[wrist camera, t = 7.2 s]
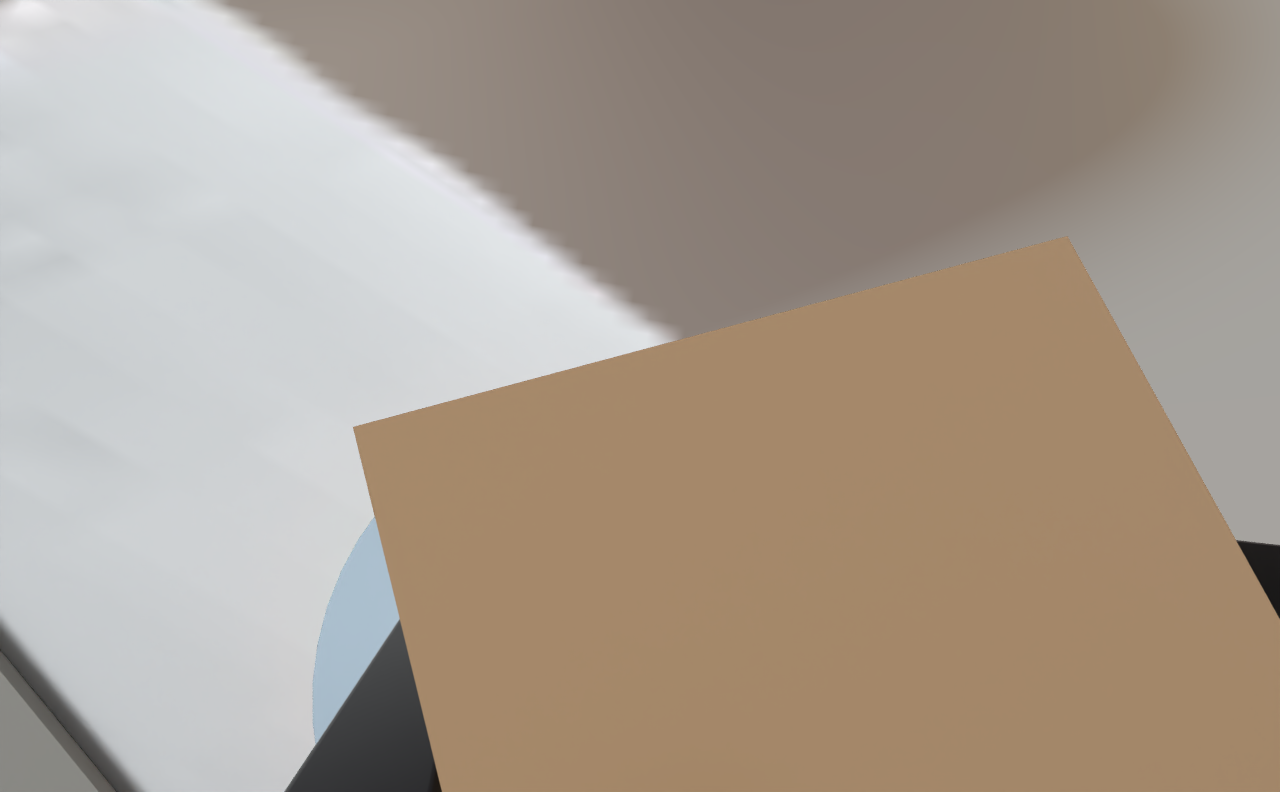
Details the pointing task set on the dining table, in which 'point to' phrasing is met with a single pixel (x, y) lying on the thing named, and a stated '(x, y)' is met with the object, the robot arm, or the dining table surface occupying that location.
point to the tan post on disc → (821, 562)
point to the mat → (38, 744)
